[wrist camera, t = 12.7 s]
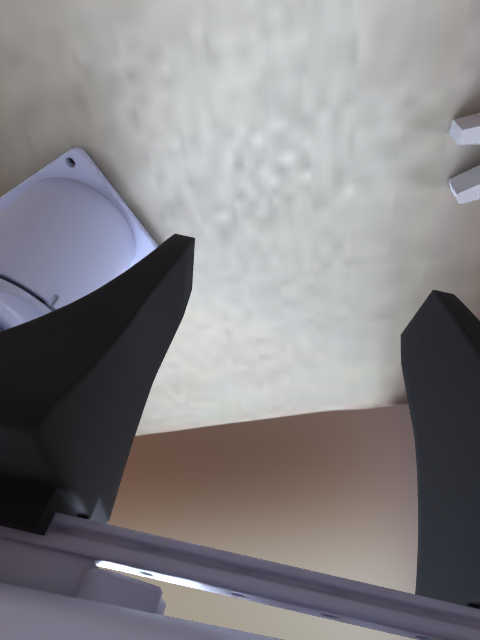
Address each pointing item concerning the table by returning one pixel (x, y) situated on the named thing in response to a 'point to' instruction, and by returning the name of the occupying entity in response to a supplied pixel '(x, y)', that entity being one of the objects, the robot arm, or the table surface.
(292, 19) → the table surface
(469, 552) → the robot arm
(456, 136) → the pliers
